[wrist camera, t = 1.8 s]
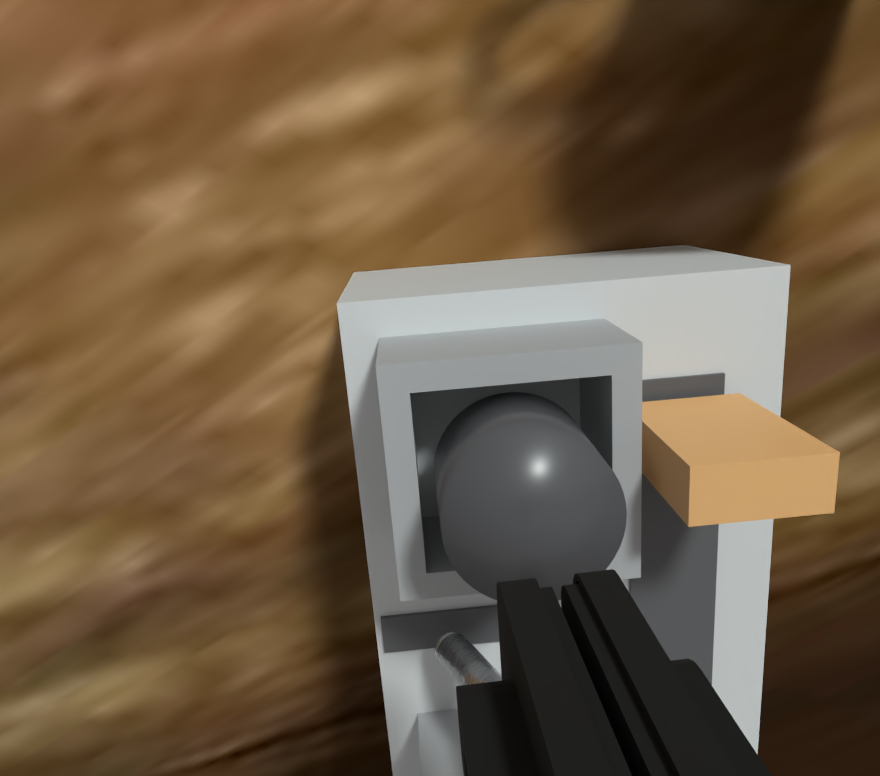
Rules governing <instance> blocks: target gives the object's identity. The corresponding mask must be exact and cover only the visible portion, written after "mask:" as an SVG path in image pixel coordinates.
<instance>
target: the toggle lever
mask: <svg viewBox="0 0 880 776" xmlns="http://www.w3.org/2000/svg"><path fill="white" fill-rule="evenodd" d="M435 655H436V658H437V659H438V661H439V662H440V663H441V665H442V666H443V667H444V668H445V669H446V671H447V672H448V673H449V674H450V675H451V676H452V678H453V679H454V680H455V681H456V682H457V683H458V685H459V686H461V685H469V684H478V683H486V682H495V681H502V676H501V674H500V673H499V672H498V671H497V670H496V669H495V668H494V666H493V665H492V664H491V663H490V662H489V661H488V660H487V659H486V658H485V657H484V656H483V655H482V654H481V653H480V652H479V651H478V650H477V649H476V648H475V647H474V646H473V645H472V644H471V643H470V642H469V640H468V639H467V638H466V637H465V636H464V635H462V634H461V633H459V632H457V631H447V632H445V633H443V634H442V635H440V636H439V638H438V639H437V641H436V644H435Z"/></svg>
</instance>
